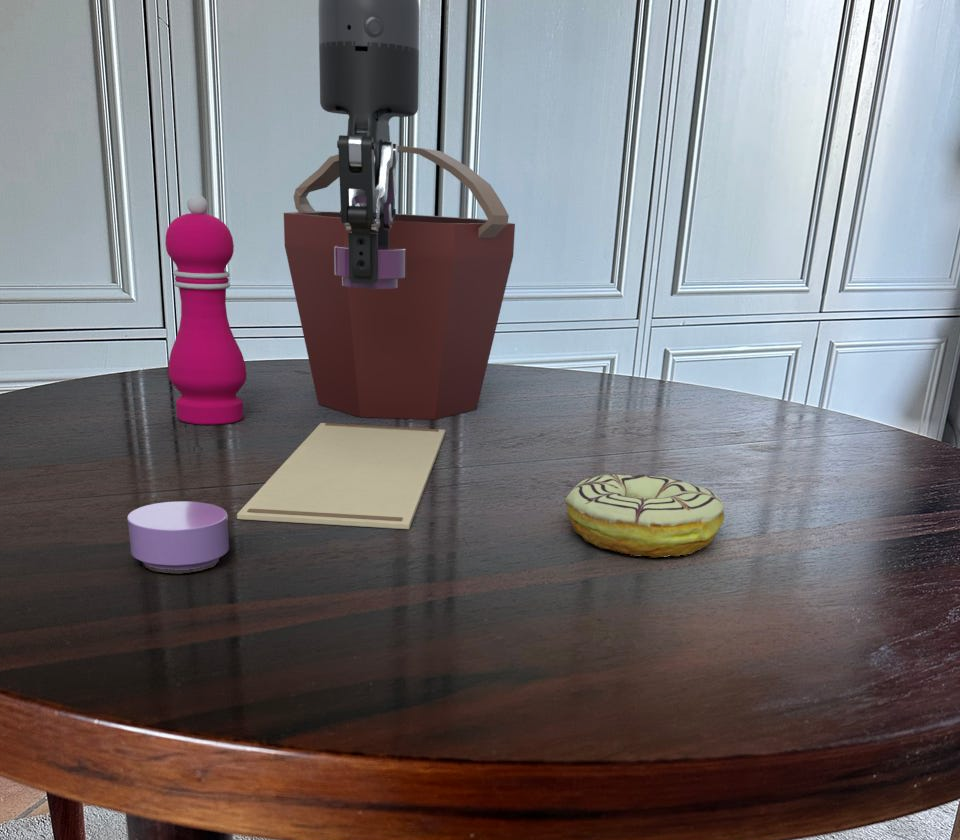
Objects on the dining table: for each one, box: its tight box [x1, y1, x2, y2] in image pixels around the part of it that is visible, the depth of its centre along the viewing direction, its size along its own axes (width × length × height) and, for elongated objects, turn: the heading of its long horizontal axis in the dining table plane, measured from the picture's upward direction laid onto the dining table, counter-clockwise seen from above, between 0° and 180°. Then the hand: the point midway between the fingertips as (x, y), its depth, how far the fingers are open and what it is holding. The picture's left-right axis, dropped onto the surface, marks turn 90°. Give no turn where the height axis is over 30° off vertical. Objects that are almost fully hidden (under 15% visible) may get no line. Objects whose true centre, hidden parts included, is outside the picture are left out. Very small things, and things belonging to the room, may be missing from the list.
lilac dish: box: [126, 500, 230, 570], centre depth 62 cm, size 6×6×3 cm
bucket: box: [283, 145, 516, 421], centre depth 106 cm, size 24×22×25 cm
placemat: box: [236, 422, 446, 530], centre depth 84 cm, size 12×30×1 cm, turn 177°
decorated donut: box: [564, 474, 725, 558], centre depth 70 cm, size 10×11×4 cm
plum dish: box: [334, 245, 406, 289], centre depth 83 cm, size 6×6×3 cm
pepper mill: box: [165, 193, 248, 426], centre depth 95 cm, size 7×7×20 cm
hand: (369, 278), depth 84 cm, fingers closed on plum dish, 5 cm apart
